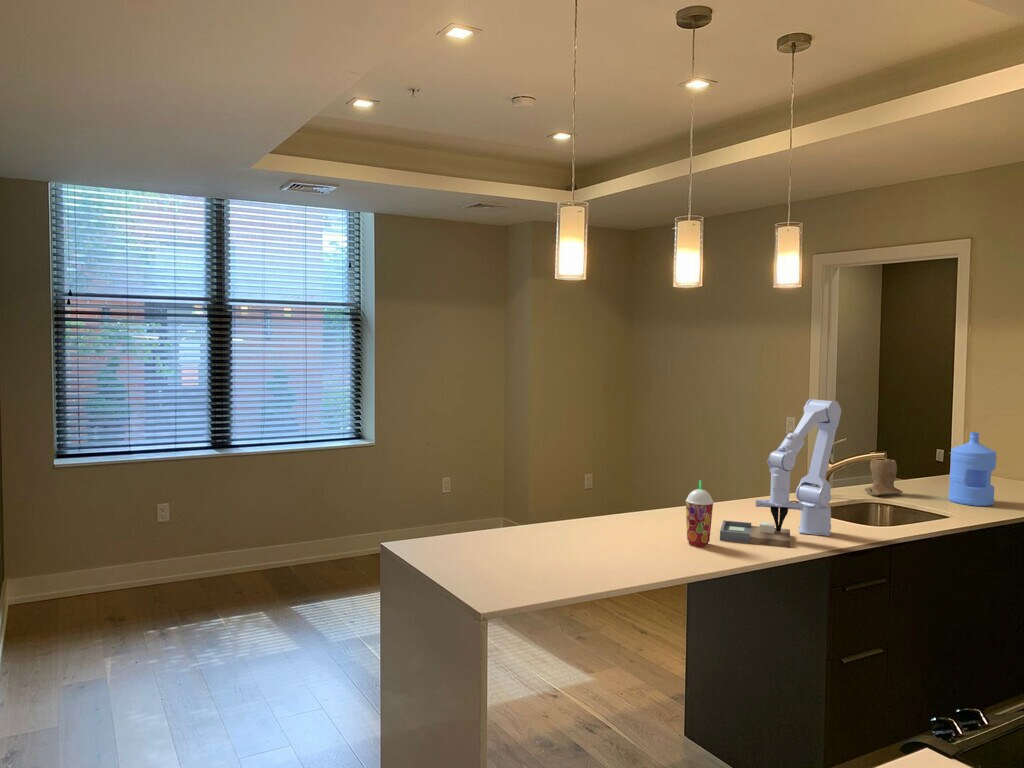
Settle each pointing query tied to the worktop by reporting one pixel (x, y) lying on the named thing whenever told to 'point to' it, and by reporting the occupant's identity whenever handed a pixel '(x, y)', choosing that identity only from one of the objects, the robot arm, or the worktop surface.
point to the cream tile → (767, 527)
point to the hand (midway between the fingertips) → (778, 530)
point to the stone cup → (883, 478)
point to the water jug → (972, 473)
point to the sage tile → (736, 529)
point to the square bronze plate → (770, 537)
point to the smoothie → (699, 517)
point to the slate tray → (735, 536)
